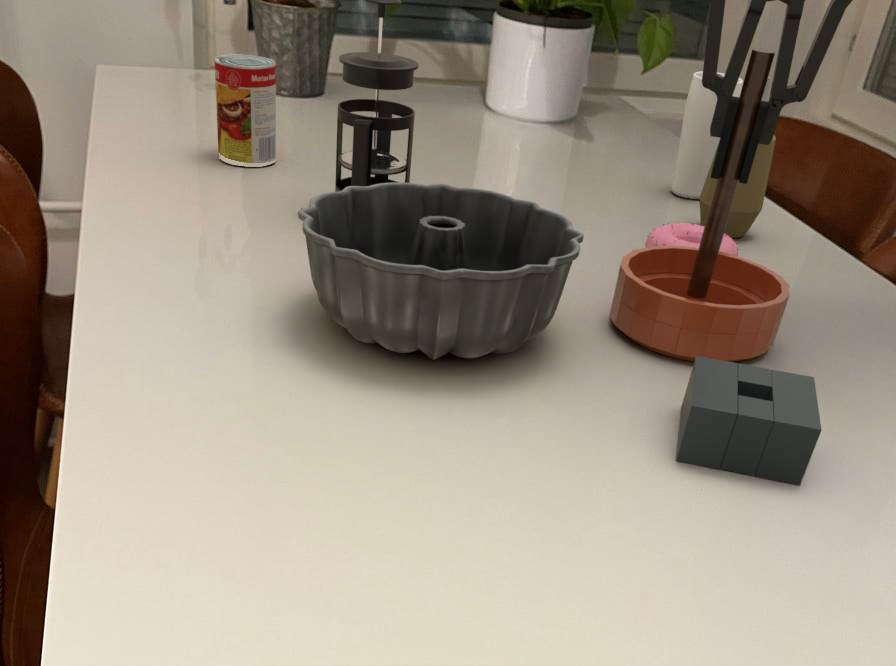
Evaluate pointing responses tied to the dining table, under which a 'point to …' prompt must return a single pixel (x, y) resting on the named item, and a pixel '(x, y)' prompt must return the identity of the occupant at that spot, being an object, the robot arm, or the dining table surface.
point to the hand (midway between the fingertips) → (728, 176)
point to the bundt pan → (437, 266)
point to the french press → (378, 75)
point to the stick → (730, 171)
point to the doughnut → (686, 237)
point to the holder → (749, 420)
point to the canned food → (246, 107)
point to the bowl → (698, 305)
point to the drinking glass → (697, 139)
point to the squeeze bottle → (743, 189)
